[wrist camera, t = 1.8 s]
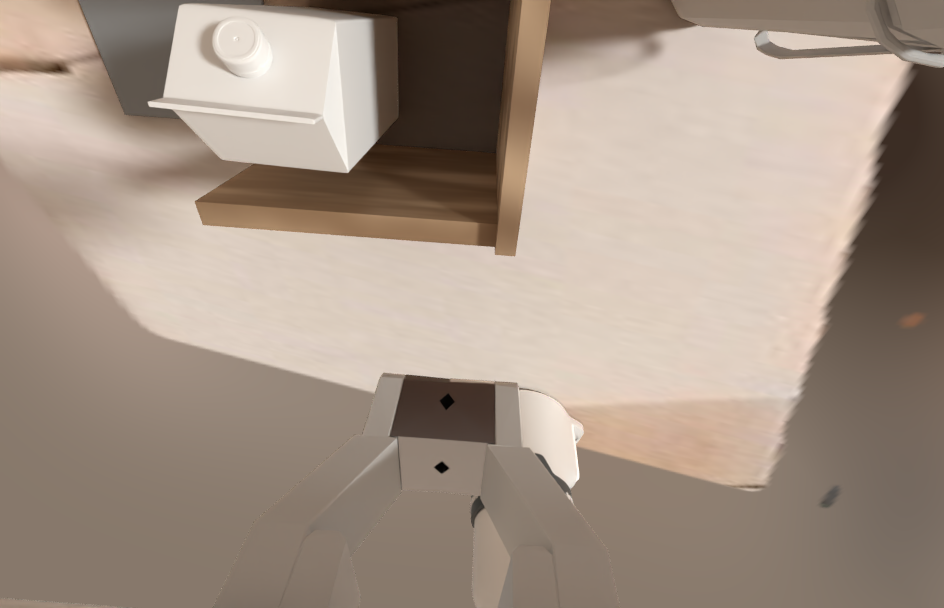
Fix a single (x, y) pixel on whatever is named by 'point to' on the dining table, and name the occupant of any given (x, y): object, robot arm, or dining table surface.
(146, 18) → the mat
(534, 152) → the dining table surface
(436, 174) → the shelf bay
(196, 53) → the milk carton
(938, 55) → the water bottle
